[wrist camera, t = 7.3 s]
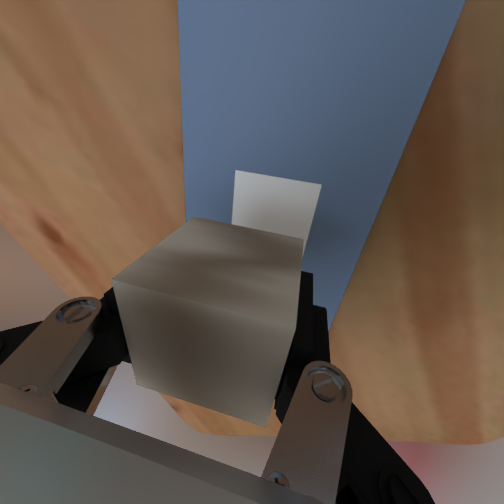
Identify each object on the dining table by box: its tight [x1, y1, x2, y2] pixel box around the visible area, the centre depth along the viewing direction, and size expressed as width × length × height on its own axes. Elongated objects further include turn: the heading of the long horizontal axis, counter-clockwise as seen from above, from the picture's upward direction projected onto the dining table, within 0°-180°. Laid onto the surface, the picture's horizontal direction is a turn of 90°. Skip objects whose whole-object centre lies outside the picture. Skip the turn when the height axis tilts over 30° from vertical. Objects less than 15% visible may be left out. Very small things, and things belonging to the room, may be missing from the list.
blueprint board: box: [178, 0, 466, 331], centre depth 18 cm, size 14×25×1 cm, turn 173°
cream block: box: [111, 217, 304, 427], centre depth 9 cm, size 5×5×5 cm
